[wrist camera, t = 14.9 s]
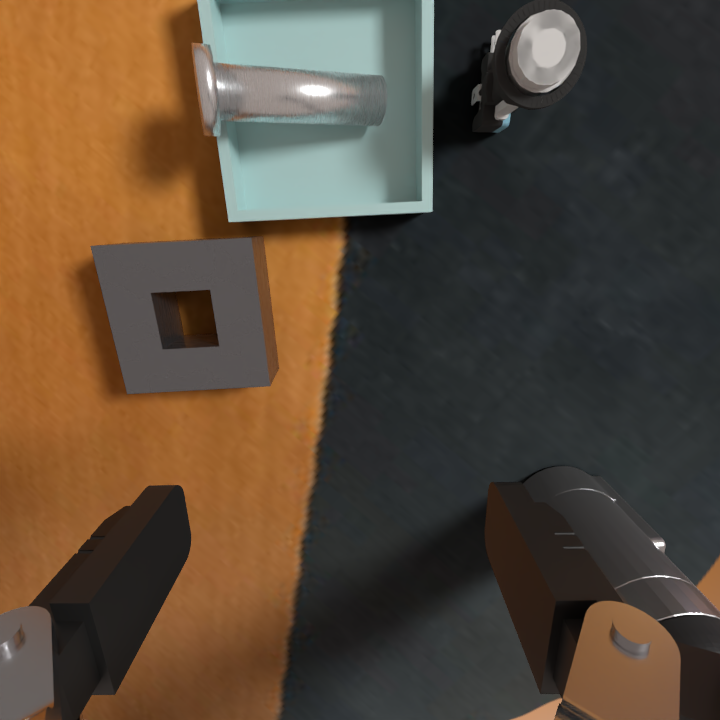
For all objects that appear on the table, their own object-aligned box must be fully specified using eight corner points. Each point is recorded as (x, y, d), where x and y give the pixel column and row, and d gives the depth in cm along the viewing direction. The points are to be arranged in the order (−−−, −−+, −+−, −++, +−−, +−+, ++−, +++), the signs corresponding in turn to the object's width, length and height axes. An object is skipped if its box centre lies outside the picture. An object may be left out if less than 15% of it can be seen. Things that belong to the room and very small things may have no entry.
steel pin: (391, 47, 27) (190, 27, 23) (393, 132, 29) (205, 127, 25) (364, 73, 32) (192, 60, 28) (367, 145, 33) (204, 142, 29)
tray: (424, -15, 30) (434, -45, 26) (424, 212, 35) (432, 211, 31) (209, -5, 30) (192, -34, 26) (240, 222, 35) (228, 222, 31)
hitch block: (263, 235, 35) (251, 237, 31) (278, 368, 39) (270, 386, 34) (122, 243, 35) (90, 245, 31) (151, 375, 39) (127, 394, 34)
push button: (460, 38, 31) (510, -45, 21) (530, 40, 31) (610, -41, 22) (453, 137, 33) (495, 102, 24) (518, 138, 33) (587, 104, 24)
